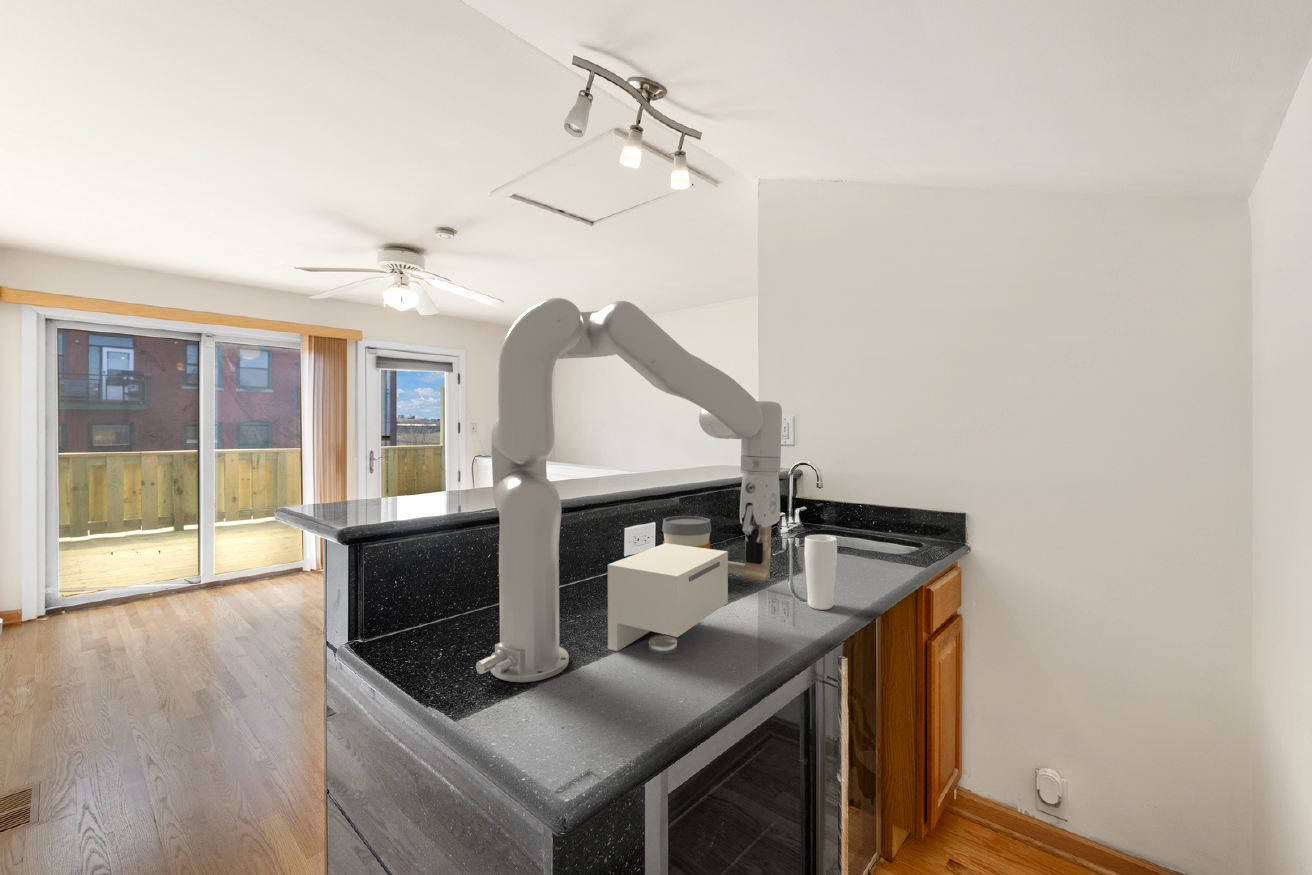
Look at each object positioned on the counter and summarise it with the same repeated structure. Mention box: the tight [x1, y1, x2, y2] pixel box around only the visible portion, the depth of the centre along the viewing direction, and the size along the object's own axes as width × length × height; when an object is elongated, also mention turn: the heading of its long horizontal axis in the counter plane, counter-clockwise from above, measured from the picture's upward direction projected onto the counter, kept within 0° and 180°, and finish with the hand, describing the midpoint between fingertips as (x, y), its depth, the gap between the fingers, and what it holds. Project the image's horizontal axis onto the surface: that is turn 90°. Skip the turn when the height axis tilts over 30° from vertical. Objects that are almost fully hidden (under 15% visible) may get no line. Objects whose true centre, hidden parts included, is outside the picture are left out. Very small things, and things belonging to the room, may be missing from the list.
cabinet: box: [607, 543, 729, 652], centre depth 102 cm, size 20×14×15 cm
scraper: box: [728, 523, 772, 581], centre depth 110 cm, size 3×18×11 cm, turn 59°
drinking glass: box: [804, 534, 838, 611], centre depth 119 cm, size 7×7×15 cm
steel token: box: [648, 635, 678, 655], centre depth 98 cm, size 5×5×2 cm
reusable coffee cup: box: [661, 515, 712, 549], centre depth 141 cm, size 13×13×15 cm
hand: (757, 560), depth 106 cm, fingers closed on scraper, 3 cm apart
